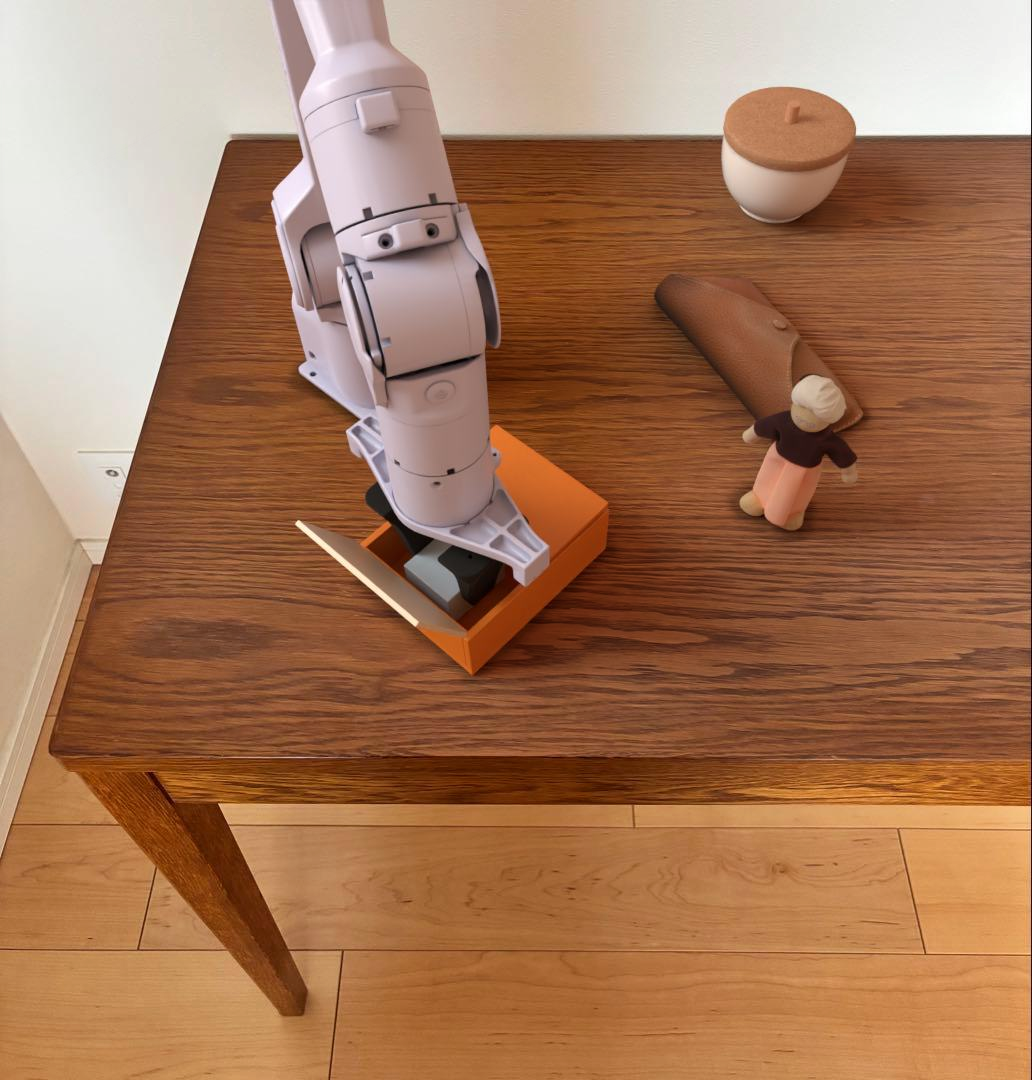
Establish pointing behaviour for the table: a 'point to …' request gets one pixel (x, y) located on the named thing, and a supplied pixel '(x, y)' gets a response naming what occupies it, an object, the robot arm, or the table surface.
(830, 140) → the trinket box
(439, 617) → the flap
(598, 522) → the orange flip-lid box
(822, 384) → the grandmother figurine
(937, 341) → the table surface
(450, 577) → the pale grey cuboid
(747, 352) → the sunglasses case
